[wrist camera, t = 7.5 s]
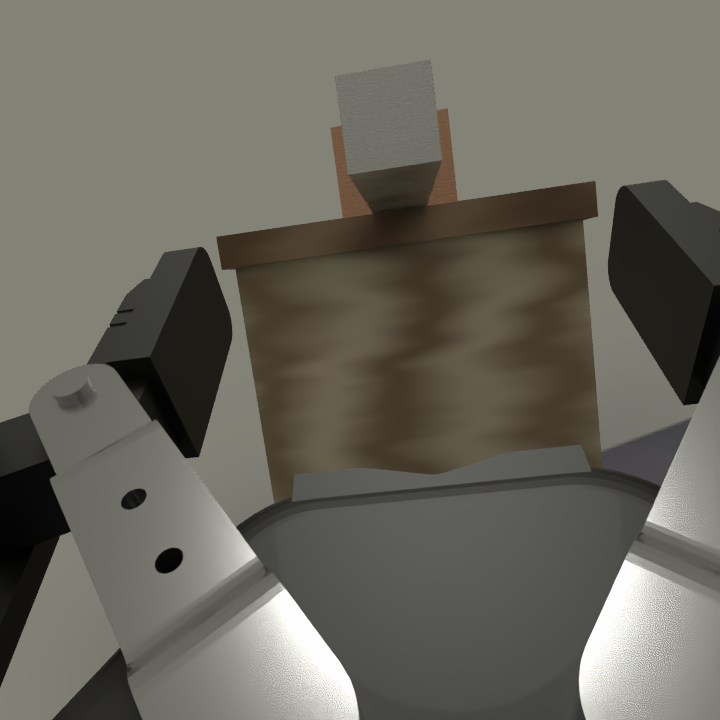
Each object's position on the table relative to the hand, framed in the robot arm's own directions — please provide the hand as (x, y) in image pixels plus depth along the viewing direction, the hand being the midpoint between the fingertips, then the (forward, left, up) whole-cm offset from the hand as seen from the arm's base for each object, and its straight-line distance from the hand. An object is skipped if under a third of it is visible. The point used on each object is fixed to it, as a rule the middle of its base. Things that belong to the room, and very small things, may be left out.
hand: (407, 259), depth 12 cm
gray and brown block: (0, -15, +2) cm, 15 cm away
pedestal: (0, -23, -30) cm, 37 cm away
